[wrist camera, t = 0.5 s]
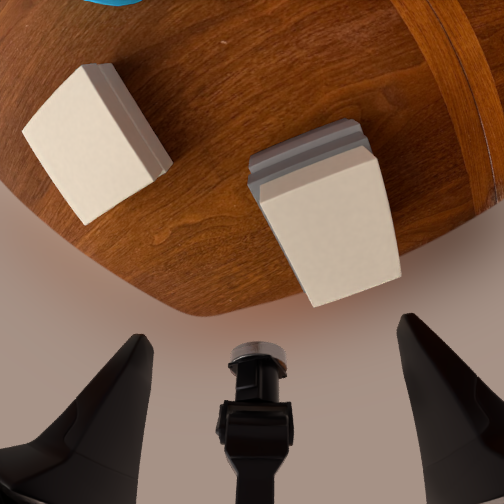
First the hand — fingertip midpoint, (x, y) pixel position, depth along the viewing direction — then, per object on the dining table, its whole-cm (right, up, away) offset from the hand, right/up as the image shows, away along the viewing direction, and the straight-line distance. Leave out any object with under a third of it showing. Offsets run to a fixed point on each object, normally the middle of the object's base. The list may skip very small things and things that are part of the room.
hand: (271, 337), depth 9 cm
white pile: (-11, +11, +8) cm, 18 cm away
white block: (+4, +5, +7) cm, 10 cm away
